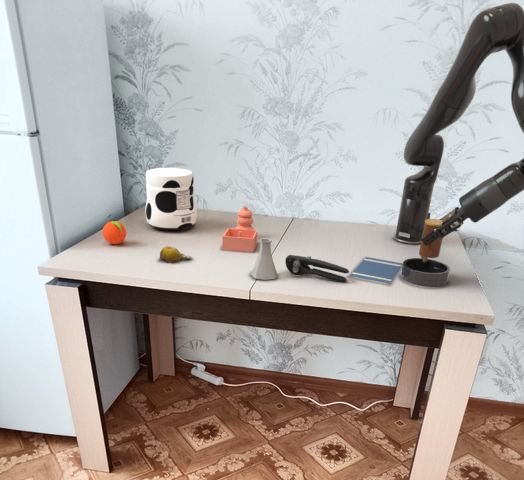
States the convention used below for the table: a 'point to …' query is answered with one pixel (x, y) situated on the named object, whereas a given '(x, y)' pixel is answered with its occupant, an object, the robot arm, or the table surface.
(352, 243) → the table surface
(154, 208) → the milk container
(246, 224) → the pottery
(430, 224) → the chocolate tin
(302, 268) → the can opener
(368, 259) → the tea towel
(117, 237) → the clementine
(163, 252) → the fruit
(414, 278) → the pan
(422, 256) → the pan handle
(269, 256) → the flask
